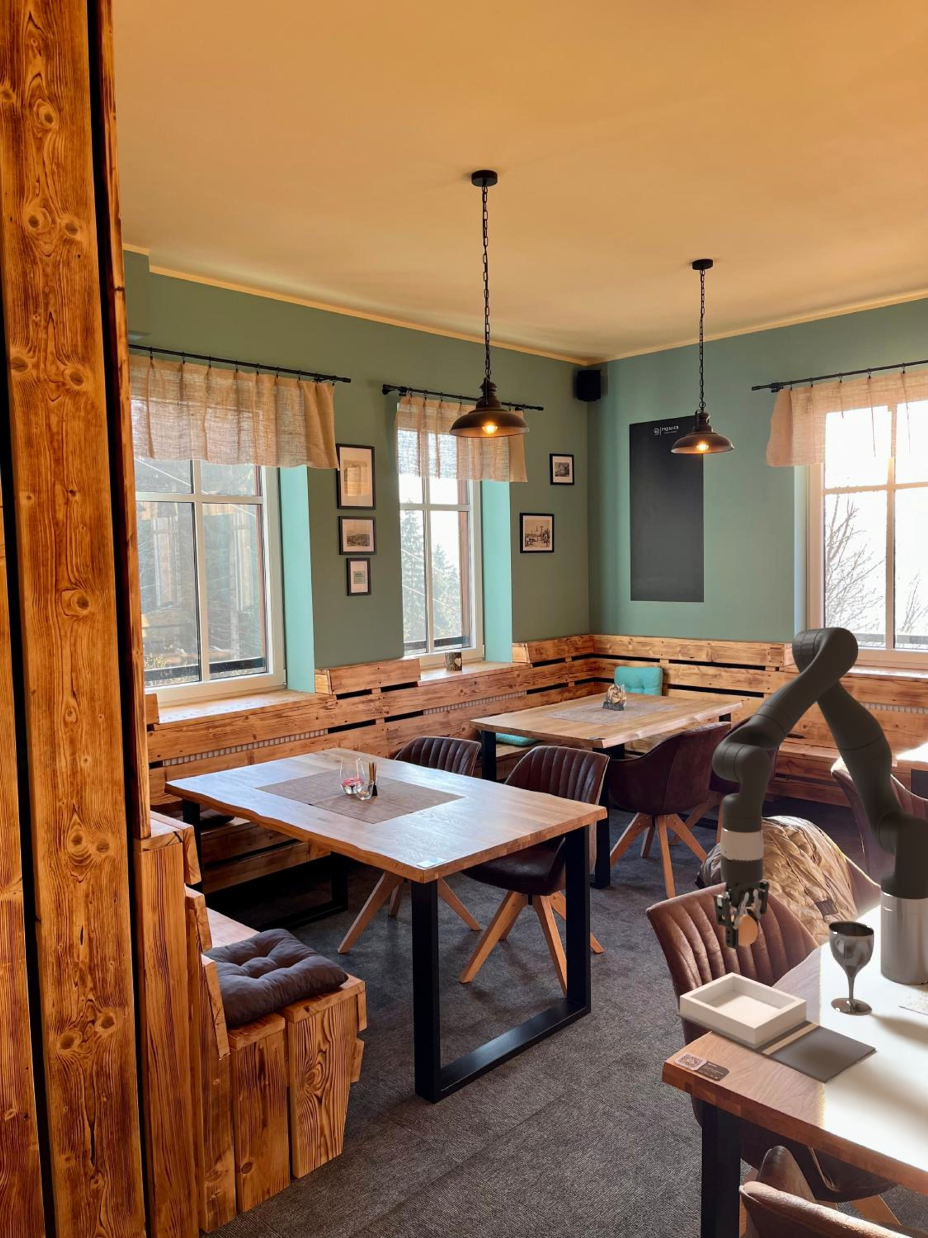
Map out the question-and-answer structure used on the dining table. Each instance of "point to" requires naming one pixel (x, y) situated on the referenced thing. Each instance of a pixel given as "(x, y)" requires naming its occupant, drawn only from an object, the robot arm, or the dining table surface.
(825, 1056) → the mat
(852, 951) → the wine glass
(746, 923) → the ball
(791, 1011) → the tray
